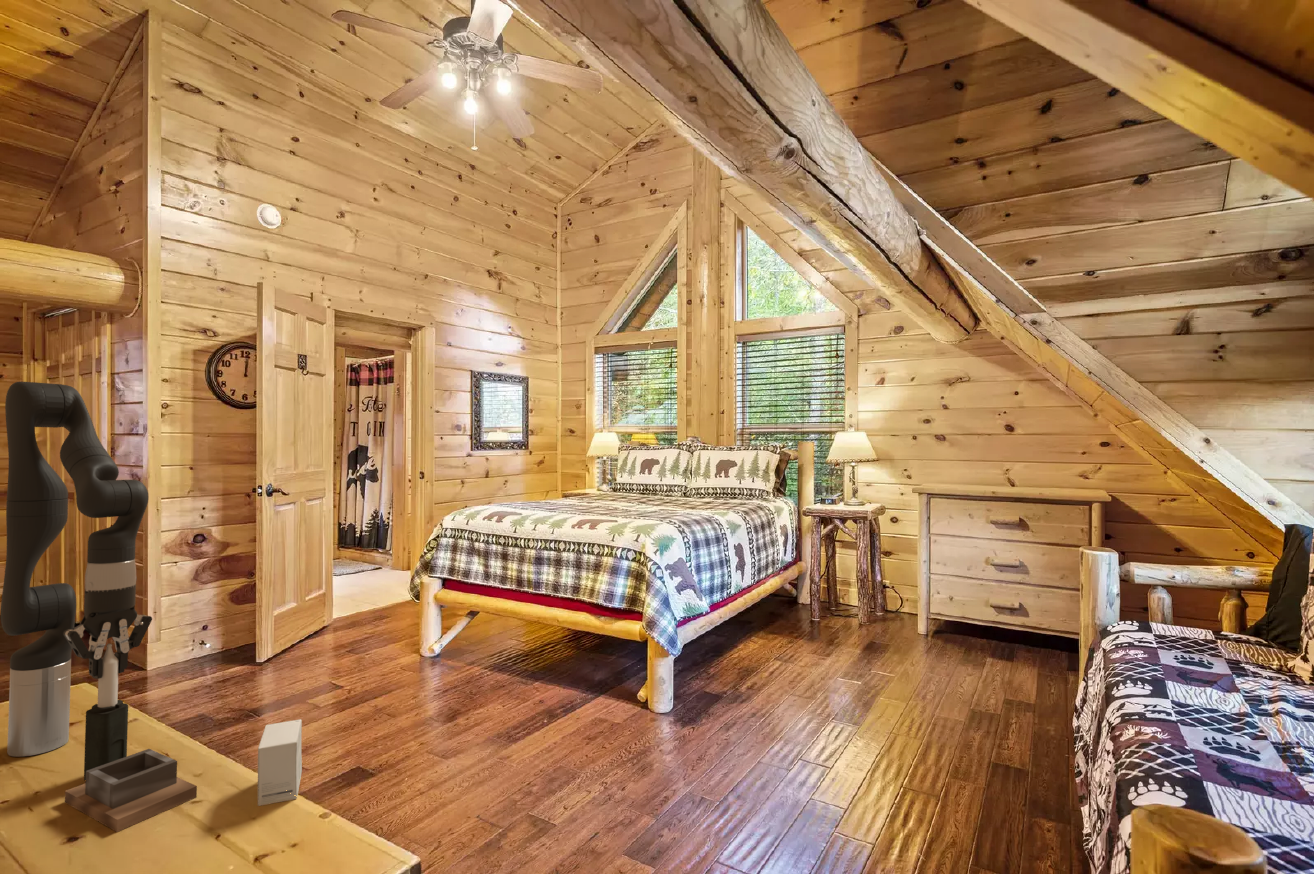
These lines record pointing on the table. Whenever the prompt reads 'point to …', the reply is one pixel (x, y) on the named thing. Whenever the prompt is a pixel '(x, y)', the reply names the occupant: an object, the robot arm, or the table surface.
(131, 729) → the table surface
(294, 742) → the skincare box
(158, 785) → the socket board
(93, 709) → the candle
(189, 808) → the table surface
